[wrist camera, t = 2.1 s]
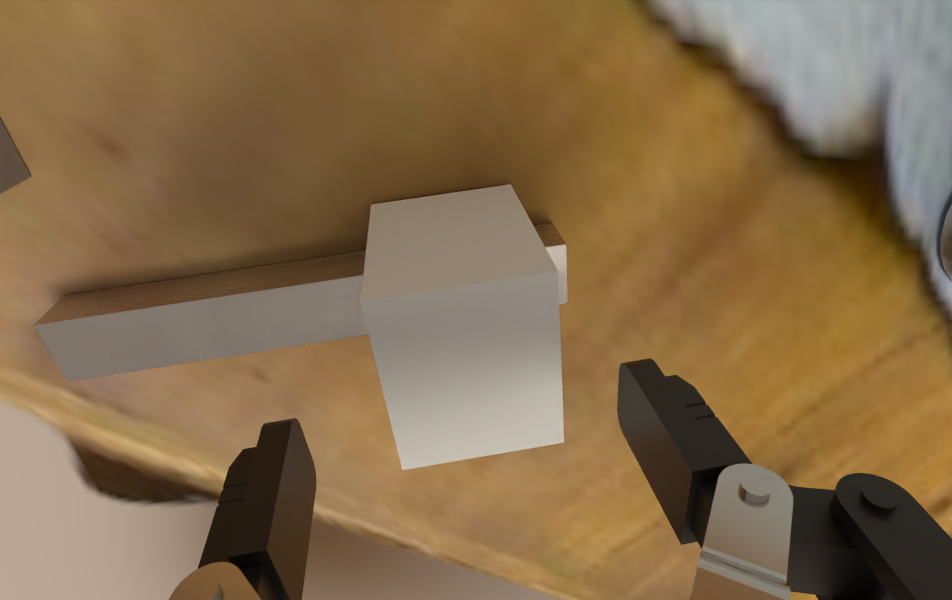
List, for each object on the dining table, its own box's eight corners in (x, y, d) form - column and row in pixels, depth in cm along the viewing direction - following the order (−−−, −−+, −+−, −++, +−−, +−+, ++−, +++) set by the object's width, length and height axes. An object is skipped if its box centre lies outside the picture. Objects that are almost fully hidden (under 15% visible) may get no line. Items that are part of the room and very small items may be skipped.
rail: (552, 222, 21) (566, 244, 19) (554, 277, 22) (567, 302, 20) (64, 295, 20) (33, 325, 18) (94, 348, 21) (68, 381, 20)
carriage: (510, 184, 20) (558, 271, 14) (521, 323, 23) (564, 442, 17) (370, 204, 20) (360, 302, 14) (401, 342, 23) (402, 470, 17)
